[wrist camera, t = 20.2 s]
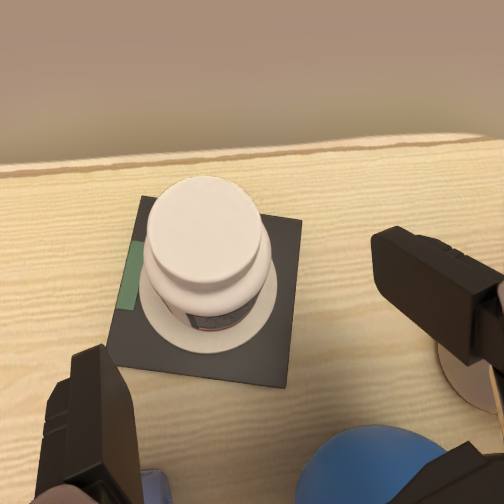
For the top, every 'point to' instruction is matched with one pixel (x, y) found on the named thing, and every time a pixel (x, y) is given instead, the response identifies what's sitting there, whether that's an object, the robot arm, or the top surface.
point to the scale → (208, 343)
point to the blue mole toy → (364, 466)
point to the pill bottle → (207, 252)
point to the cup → (469, 380)
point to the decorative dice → (155, 487)
